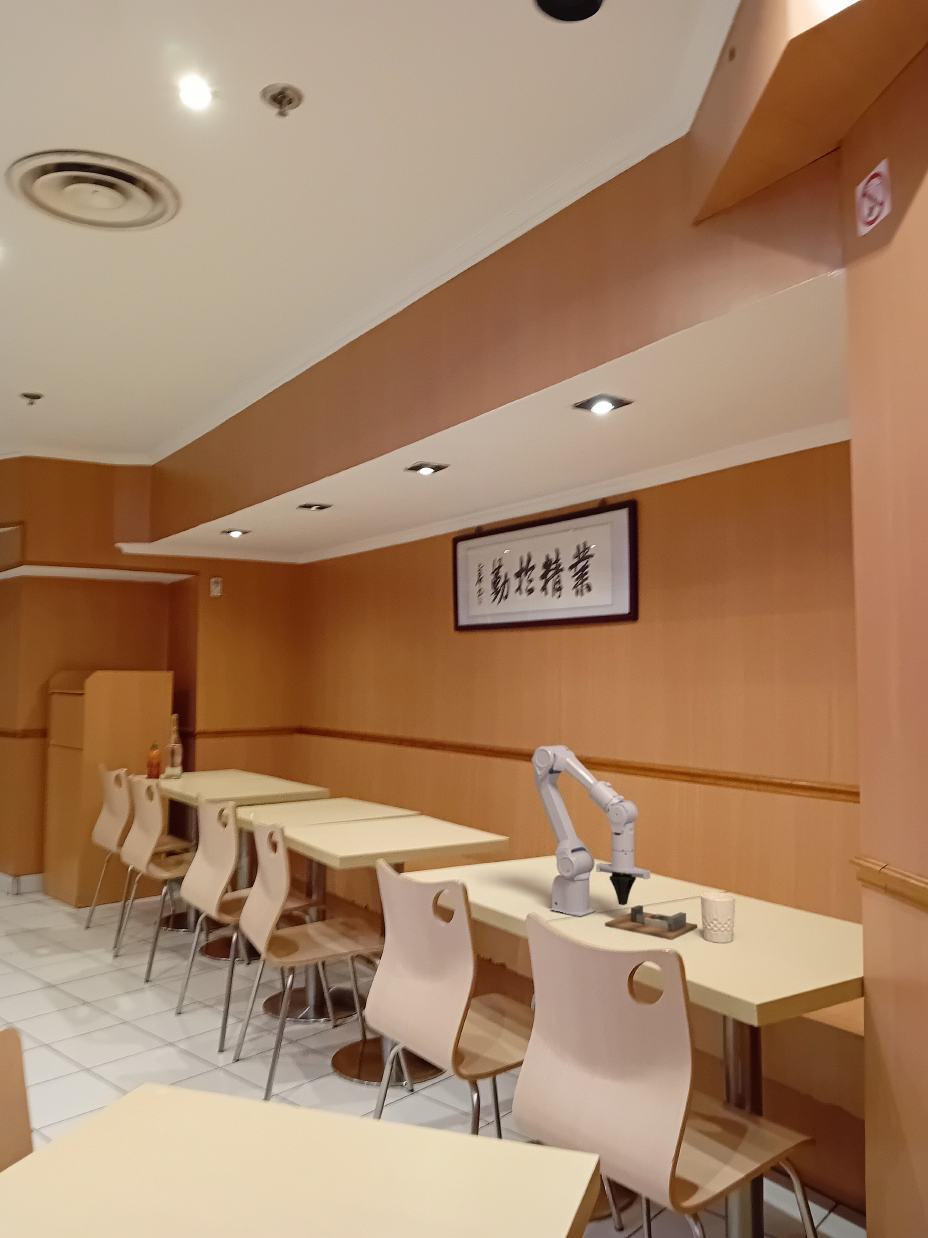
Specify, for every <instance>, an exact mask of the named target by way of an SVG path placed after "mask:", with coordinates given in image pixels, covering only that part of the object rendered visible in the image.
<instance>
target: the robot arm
mask: <svg viewBox="0 0 928 1238" xmlns="http://www.w3.org/2000/svg"><path fill="white" fill-rule="evenodd" d="M531 763H532V765H533V768H534V769H533V770H534V775H533V776H534V777H533V778H534V784H535V788H536V790H537V792H538V795H539V798H540V801H541V804H542V805H543V808H544V811H545V814H546V816H547V820H548V822H549V824H550V826H551V827H550V828H551V830H552V833H553V834H554V835H553V836H554V837H555V838H554V839H556V842H557V847H556V849H555V851H554V855H555V858H556V868H557V871H558V873H559V875H556V876H555V877H554V878H553V881H552V886H551V908H550V909H551V910H556V911H560V912H563V913H562V914H565V913H566V914H567V915H571V916H577V917H583V916H586V915H588V914H591V913H594V912H596V910H597V909H596V908H592V907H590V877H591V872H592V871H593V870H594V869H595V870H596V871H595V872H597V873H607V874H611V875H610V876H609V880H610V882H611V885H612V886H613V889H614V891H615V894H616V898H617V902H618V905H621V906H624V905H628V901H629V896H630V893H631V890H632V887H633V885H634V883H635V881H636V880H637V878H639V879H643V880H649V879H651V870H649V869H645V868H644V869H643V868H641V867H637V866H635V822H636V821H637V819H638V816H639V810H638V808H637V806H636V805H635V803H634V802H633V801H632V800H628V799H627V800H626V799H625V797H624V796H623V795H620V793H617V791H616V790H614V789H613V788H612V784H611V783H610V782H609V781H607V782H606V781H605V780H599V781H598V780H597V779H596V777H595V776H594V775H593V774H592V773H591V772H590V771H589V770H588V769H587V768H586V767H585V766H584V765H583V764H582V763H581V761H580V760H579V759H577V757H576V755H575V753H574V751H572V750H570V749H569V748H568V747H567V746H566V745H563V744H557V745H548V746H546V745H541V746H539V747H537V748H536V749H535V752H534V754H533V755H532V757H531ZM563 772H566V773H568V774H569V775H570V777H573V779H575V780H576V781H578V782H579V784H580V785H582V786H583V787H584V788H586V789H587V790H588V797H589V798H590V799H591V800H592V801H593V802H594V803H595V804H596V805H597V806H598V807H599V808H600V810H602V811H603V812H605V814H606V818H607V821H608V822H609V824H610V830H611V832H610V835H611V837H610V838H611V840H610V841H611V845H610V847H611V856H610V857H611V863H602V862H598V863H596V864H595V858H594V855H593V854H592V852H590V850H589V849H588V847H587V846H586V843H585V842H584V841H583V840H581V839H580V838H579V837H578V836H577V833H576V830H575V828H574V826H573V822H572V820H571V818H570V816H569V813H568V809H567V808H566V805H565V803H564V800H563V797H562V795H561V792H560V790H559V787H558V784H557V781H558V779H559V777H560V775H561V774H562V773H563ZM551 910H550V911H551ZM560 912H559V913H560ZM566 914H565V915H566Z"/></svg>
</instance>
